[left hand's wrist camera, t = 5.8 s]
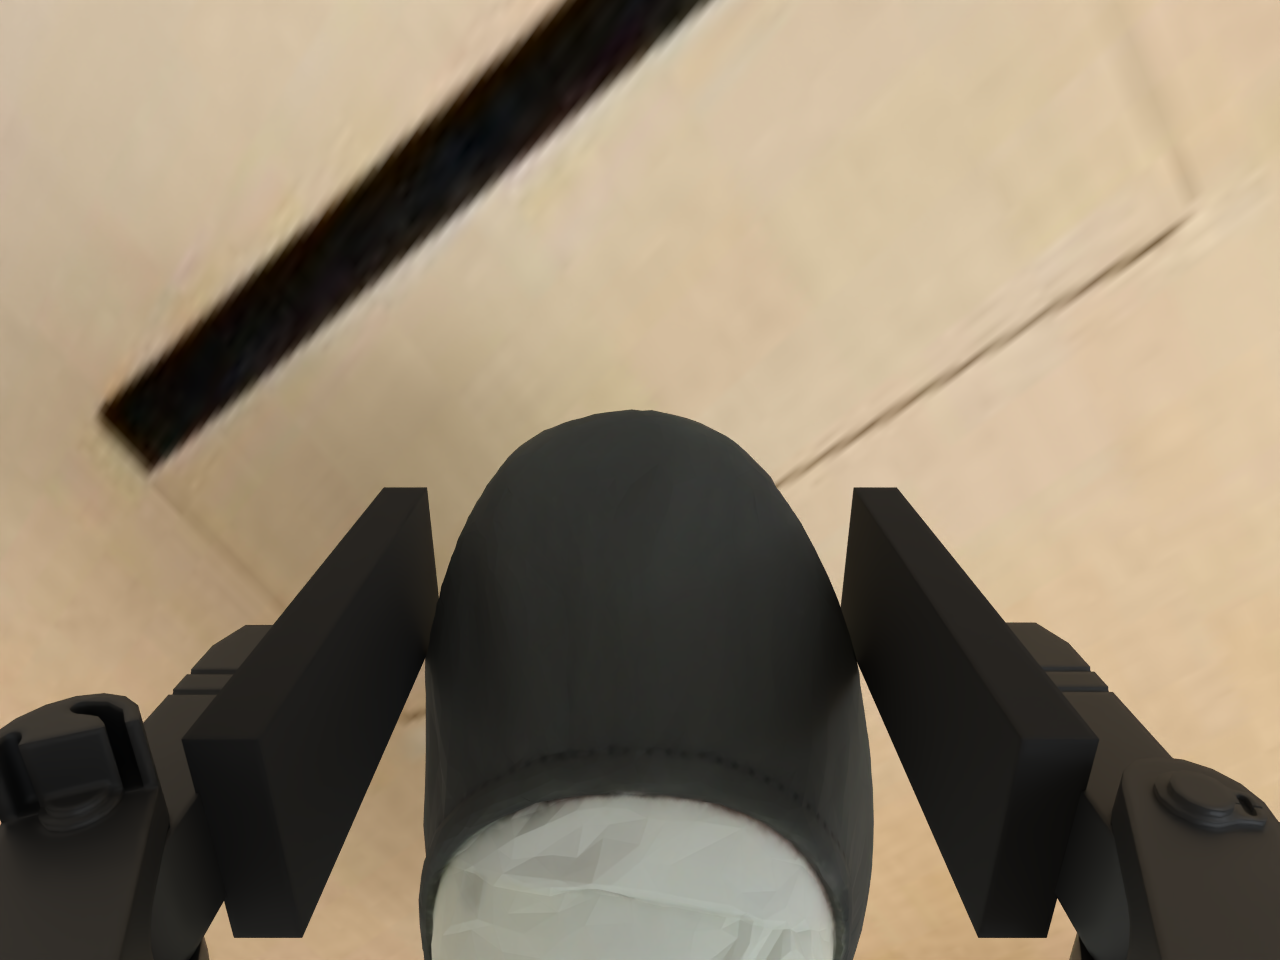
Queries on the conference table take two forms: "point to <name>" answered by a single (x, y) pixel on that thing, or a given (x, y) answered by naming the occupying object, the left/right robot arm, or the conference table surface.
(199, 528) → the conference table surface
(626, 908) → the ballet flat
